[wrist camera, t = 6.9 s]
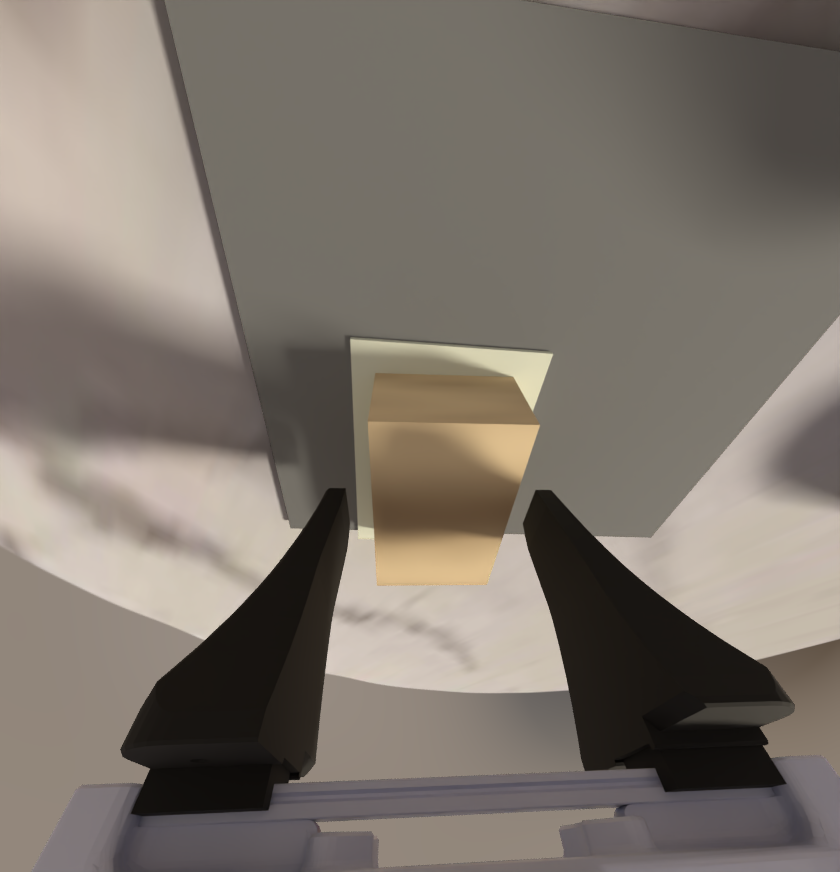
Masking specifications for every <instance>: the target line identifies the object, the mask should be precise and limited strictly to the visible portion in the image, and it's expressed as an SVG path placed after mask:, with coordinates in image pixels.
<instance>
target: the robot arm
mask: <svg viewBox="0 0 840 872" xmlns="http://www.w3.org/2000/svg"><path fill="white" fill-rule="evenodd" d="M523 528H524V533H525V537H526V542H527V546H528V550H529V553H530V556H531V559H532V561H533V564H534V567H535V570H536V573H537V576H538V578H539V581H540V584H541V587H542V590H543V592H544V595H545V598H546V601H547V604H548V606H549V610H550V613H551V616H552V619H553V623H554V627H555V631H556V635H557V639H558V643H559V647H560V651H561V656H562V660H563V664H564V669H565V673H566V678H567V683H568V688H569V693H570V697H571V702H572V707H573V713H574V718H575V724H576V730H577V735H578V741H579V748H580V754H581V759H582V763H583V766H584V769H585V771H574V772H550V773H526V774H503V775H478V776H455V777H431V778H407V779H382V780H358V781H334V782H312V783H288V782H289V780H299V779H300V777H304V776H305V775H306V774H307V773H308V772H309V771H310V770H311V768H312V767H313V766H314V764H315V761H316V750H317V740H318V730H319V721H320V711H321V702H322V693H323V685H324V676H325V668H326V660H327V652H328V644H329V637H330V629H331V622H332V616H333V611H334V606H335V602H336V597H337V593H338V588H339V584H340V579H341V575H342V571H343V566H344V562H345V557H346V552H347V547H348V538H349V529H350V518H349V510H348V502H347V495H346V488H329V489H327V490H326V492H325V494H324V496H323V498H322V499H321V501H320V503H319V505H318V506H317V508H316V510H315V511H314V513H313V515H312V516H311V518H310V519H309V521H308V522H307V524H306V525H305V527H304V528H303V530H302V531H301V533H300V534H299V536H298V537H297V539H296V540H295V542H294V543H293V544H292V546H291V547H290V548H289V550H288V551H287V552H286V554H285V555H284V556H283V558H282V559H281V560H280V562H279V563H278V564H277V565H276V566H275V568H274V569H273V570H272V571H271V573H270V574H269V575H268V576H267V577H266V578H265V580H264V581H263V582H262V583H261V584H260V585H259V586H258V588H257V589H256V590H255V591H254V592H253V593H252V594H251V595H250V596H249V597H248V598H247V599H246V601H245V602H244V603H243V604H242V605H241V606H240V607H239V608H238V609H237V610H236V611H235V612H234V613H233V614H232V615H231V616H230V617H229V618H228V619H227V620H226V621H225V622H224V623H223V624H221V625H220V626H219V627H218V628H217V629H216V630H215V631H214V632H213V633H212V634H211V635H210V636H209V637H208V638H207V639H206V640H205V641H204V642H202V643H201V644H200V645H199V646H198V647H197V648H196V649H195V650H193V652H191V653H190V654H189V655H188V656H186V657H185V658H184V659H183V660H182V661H181V662H179V663H178V664H177V665H176V666H175V667H174V668H172V669H171V670H170V671H169V672H168V673H167V674H165V675H164V676H163V677H162V678H161V679H160V680H159V681H157V683H156V684H155V686H154V688H153V689H152V691H151V693H150V694H149V696H148V698H147V699H146V700H145V702H144V704H143V706H142V707H141V709H140V711H139V713H138V715H137V717H136V719H135V721H134V723H133V725H132V727H131V729H130V731H129V733H128V735H127V737H126V739H125V741H124V743H123V745H122V747H121V749H120V750H121V753H122V756H123V757H124V758H126V759H128V760H130V761H133V762H135V763H138V764H140V765H143V766H146V767H148V768H150V770H149V773H148V775H147V777H146V779H145V782H144V784H135V783H118V784H93V785H81V786H80V787H78V788H77V789H76V790H75V792H74V794H73V796H72V797H71V799H70V801H69V803H68V805H67V807H66V808H65V810H64V812H63V814H62V816H61V818H60V820H59V821H58V823H57V825H56V827H55V829H54V831H53V832H52V834H51V836H50V838H49V840H48V842H47V843H46V845H45V847H44V849H43V851H42V853H41V855H40V856H39V858H38V860H37V862H36V864H35V866H34V868H33V869H32V871H31V872H840V777H839V776H838V774H837V773H836V772H835V770H834V769H833V768H832V766H831V765H830V764H829V762H828V761H827V760H826V758H825V757H823V756H821V755H808V756H785V757H776V758H770V757H769V755H768V753H767V752H766V750H765V749H764V747H763V745H767V744H768V740H767V738H766V737H765V735H764V734H763V732H762V731H761V729H760V728H759V727H761V726H763V725H766V724H769V723H771V722H774V721H777V720H779V719H782V718H784V717H786V716H789V715H790V714H792V713H793V712H794V709H795V704H794V703H793V702H792V700H791V699H790V698H789V696H788V695H787V694H786V692H785V691H784V690H783V688H782V687H781V686H780V684H779V683H778V682H777V680H776V679H775V678H774V676H773V675H772V674H771V672H770V671H769V670H768V668H767V667H765V666H764V665H762V664H760V663H759V662H757V661H756V660H754V659H752V658H751V657H749V656H748V655H746V654H744V653H743V652H741V651H739V650H738V649H736V648H735V647H733V646H731V645H730V644H728V643H727V642H725V641H723V640H722V639H720V638H719V637H717V636H716V635H714V634H713V633H711V632H710V631H708V630H707V629H705V628H704V627H703V626H701V625H700V624H698V623H697V622H695V621H694V620H692V619H691V618H690V617H688V616H687V615H685V614H684V613H683V612H681V611H680V610H678V609H677V608H676V607H674V606H673V605H672V604H671V603H669V602H668V601H667V600H665V599H664V598H663V597H661V596H660V595H659V594H657V593H656V592H655V591H654V590H652V589H651V588H650V587H649V586H647V585H646V584H645V583H644V582H643V581H641V580H640V579H639V578H638V577H637V576H636V575H634V574H633V573H632V572H631V571H630V570H629V569H627V568H626V567H625V566H624V565H623V564H622V563H621V562H620V561H619V560H618V559H616V558H615V557H614V556H613V555H612V554H611V553H610V552H609V551H608V550H607V549H606V548H605V547H604V546H603V545H602V544H601V543H600V542H599V541H598V540H597V539H596V538H595V537H594V536H593V535H592V534H591V533H590V532H589V531H588V530H587V529H586V528H585V527H584V526H583V524H582V523H581V522H580V521H579V520H578V519H577V518H576V517H575V516H574V515H573V514H572V513H571V511H570V510H569V509H568V508H567V507H566V506H565V505H564V504H563V503H562V501H561V500H560V499H559V498H558V497H557V496H556V495H555V494H554V493H553V492H552V490H535V492H534V495H533V498H532V500H531V503H530V506H529V508H528V511H527V513H526V516H525V519H524V521H523ZM616 807H619V808H616ZM596 808H616V810H615V812H614V818H605V819H594V820H583V821H582V822H580V823H576V824H571V825H565V826H560V829H559V832H560V836H561V841H562V844H563V849H564V856H563V857H560V858H542V859H524V860H506V861H488V862H471V863H453V864H436V865H418V866H403V867H402V866H401V867H384V868H378V843H379V840H378V838H377V836H374V835H373V833H372V832H321V830H320V827H319V826H318V824H317V823H316V822H326V821H327V822H328V821H348V820H368V819H388V818H409V817H431V816H452V815H471V814H492V813H512V812H533V811H554V810H575V809H596Z"/></svg>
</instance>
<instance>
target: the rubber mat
mask: <svg viewBox="0 0 840 872" xmlns="http://www.w3.org/2000/svg"><path fill="white" fill-rule="evenodd" d="M164 2H165V6H166V10H167V14H168V18H169V22H170V27H171V31H172V35H173V39H174V43H175V47H176V52H177V56H178V60H179V64H180V68H181V73H182V77H183V81H184V85H185V89H186V93H187V98H188V102H189V106H190V110H191V114H192V118H193V123H194V127H195V131H196V135H197V139H198V144H199V148H200V152H201V156H202V160H203V164H204V169H205V173H206V177H207V181H208V185H209V189H210V194H211V198H212V202H213V206H214V210H215V215H216V219H217V223H218V227H219V231H220V235H221V240H222V244H223V248H224V252H225V256H226V260H227V265H228V269H229V273H230V277H231V281H232V286H233V290H234V294H235V298H236V302H237V306H238V311H239V315H240V319H241V323H242V327H243V331H244V336H245V340H246V344H247V348H248V352H249V357H250V361H251V365H252V369H253V373H254V377H255V382H256V386H257V390H258V394H259V398H260V402H261V407H262V411H263V415H264V419H265V423H266V428H267V432H268V436H269V440H270V444H271V448H272V453H273V457H274V461H275V465H276V469H277V473H278V478H279V482H280V486H281V490H282V494H283V499H284V503H285V507H286V511H287V515H288V519H289V524H290V528H302V529H303V528H304V527H305V525H306V524H307V522H308V521H309V519H310V518H311V516H312V515H313V513H314V511H315V510H316V508H317V506H318V505H319V503H320V501H321V499H322V498H323V496H324V494H325V492H326V490H327V489H329V488H346V495H347V502H348V510H349V518H350V529H349V530H358V539H374V523H373V506H372V488H371V471H370V454H369V436H368V416H369V410H370V404H371V397H372V391H373V385H374V378H375V373H392V374H427V375H461V376H496V377H514V379H515V381H516V383H517V384H518V386H519V388H520V390H521V392H522V393H523V395H524V397H525V399H526V401H527V402H528V404H529V406H530V408H531V410H532V411H533V413H534V415H535V417H536V419H537V420H538V422H539V424H540V427H539V430H538V433H537V436H536V439H535V442H534V445H533V448H532V451H531V454H530V457H529V460H528V463H527V466H526V469H525V472H524V475H523V478H522V481H521V484H520V487H519V490H518V493H517V496H516V499H515V502H514V505H513V508H512V511H511V514H510V517H509V520H508V523H507V526H506V529H505V532H504V534H525V533H524V528H523V521H524V519H525V516H526V513H527V511H528V508H529V506H530V503H531V500H532V498H533V495H534V492H535V490H552V492H553V493H554V494H555V495H556V496H557V497H558V498H559V499H560V500H561V501H562V503H563V504H564V505H565V506H566V507H567V508H568V509H569V510H570V511H571V513H572V514H573V515H574V516H575V517H576V518H577V519H578V520H579V521H580V522H581V523H582V524H583V526H584V527H585V528H586V529H587V530H588V531H589V532H590V533H591V534H592V535H593V536H613V537H652V536H653V534H654V533H655V532H656V531H657V530H658V529H659V527H660V526H661V525H662V524H663V523H664V521H665V520H666V519H667V518H668V517H669V516H670V514H671V513H672V512H673V511H674V510H675V508H676V507H677V506H678V505H679V504H680V503H681V501H682V500H683V499H684V498H685V497H686V496H687V494H688V493H689V492H690V491H691V490H692V488H693V487H694V486H695V485H696V484H697V483H698V481H699V480H700V479H701V478H702V477H703V475H704V474H705V473H706V472H707V471H708V470H709V468H710V467H711V466H712V465H713V464H714V463H715V461H716V460H717V459H718V458H719V457H720V455H721V454H722V453H723V452H724V451H725V450H726V448H727V447H728V446H729V445H730V444H731V442H732V441H733V440H734V439H735V438H736V437H737V435H738V434H739V433H740V432H741V431H742V429H743V428H744V427H745V426H746V425H747V424H748V422H749V421H750V420H751V419H752V418H753V417H754V415H755V414H756V413H757V412H758V411H759V409H760V408H761V407H762V406H763V405H764V404H765V402H766V401H767V400H768V399H769V398H770V396H771V395H772V394H773V393H774V392H775V391H776V389H777V388H778V387H779V386H780V385H781V383H782V382H783V381H784V380H785V379H786V378H787V376H788V375H789V374H790V373H791V372H792V371H793V369H794V368H795V367H796V366H797V365H798V363H799V362H800V361H801V360H802V359H803V358H804V356H805V355H806V354H807V353H808V352H809V350H810V349H811V348H812V347H813V346H814V345H815V343H816V342H817V341H818V340H819V339H820V337H821V336H822V335H823V334H824V333H825V332H826V330H827V329H828V328H829V327H830V326H831V325H832V323H833V322H834V321H835V320H836V319H837V317H838V316H839V315H840V52H839V51H833V50H827V49H821V48H814V47H808V46H802V45H796V44H790V43H784V42H777V41H771V40H765V39H759V38H753V37H746V36H740V35H734V34H728V33H722V32H716V31H709V30H703V29H697V28H691V27H685V26H679V25H672V24H666V23H660V22H654V21H648V20H642V19H635V18H629V17H623V16H617V15H611V14H604V13H598V12H592V11H586V10H580V9H574V8H567V7H561V6H555V5H549V4H543V3H537V2H530V1H524V0H164Z"/></svg>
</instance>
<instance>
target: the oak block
mask: <svg viewBox="0 0 840 872" xmlns="http://www.w3.org/2000/svg"><path fill="white" fill-rule="evenodd" d="M539 427H540V424H539V422H538V420H537V419H536V417H535V415H534V413H533V411H532V410H531V408H530V406H529V404H528V402H527V401H526V399H525V397H524V395H523V393H522V392H521V390H520V388H519V386H518V384H517V383H516V381H515V379H514V377H496V376H461V375H427V374H392V373H375V378H374V385H373V391H372V397H371V404H370V410H369V416H368V436H369V454H370V471H371V488H372V506H373V523H374V540H375V558H376V575H377V586H386V585H487V583H488V580H489V577H490V574H491V571H492V568H493V565H494V562H495V559H496V556H497V553H498V550H499V547H500V544H501V541H502V538H503V535H504V532H505V529H506V526H507V523H508V520H509V517H510V514H511V511H512V508H513V505H514V502H515V499H516V496H517V493H518V490H519V487H520V484H521V481H522V478H523V475H524V472H525V469H526V466H527V463H528V460H529V457H530V454H531V451H532V448H533V445H534V442H535V439H536V436H537V433H538V430H539Z"/></svg>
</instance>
